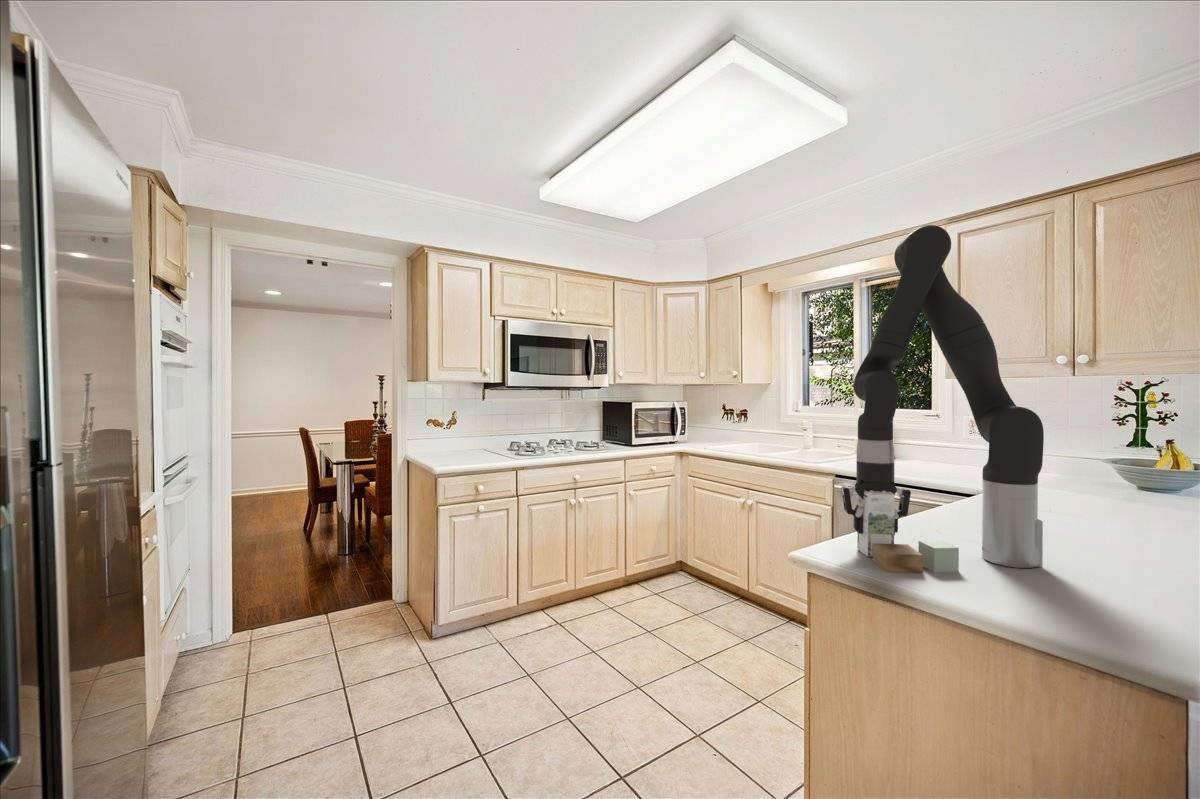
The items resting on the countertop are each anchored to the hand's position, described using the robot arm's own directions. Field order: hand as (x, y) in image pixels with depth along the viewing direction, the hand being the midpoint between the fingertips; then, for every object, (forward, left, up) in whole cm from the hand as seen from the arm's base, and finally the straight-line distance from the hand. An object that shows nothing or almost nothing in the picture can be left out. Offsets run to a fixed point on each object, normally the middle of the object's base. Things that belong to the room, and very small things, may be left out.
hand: (875, 533), depth 116 cm
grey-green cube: (-10, +7, -5) cm, 13 cm away
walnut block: (-2, +8, -5) cm, 10 cm away
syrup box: (0, 0, -5) cm, 5 cm away
